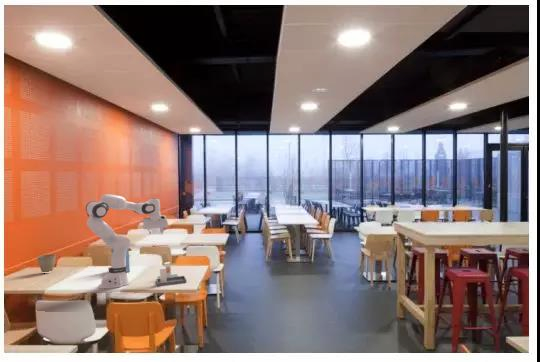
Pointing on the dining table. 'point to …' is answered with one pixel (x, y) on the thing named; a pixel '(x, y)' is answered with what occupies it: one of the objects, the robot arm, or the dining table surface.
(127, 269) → the gum box
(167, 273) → the labelled box
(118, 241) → the robot arm
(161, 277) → the plain box
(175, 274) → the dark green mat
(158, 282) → the charcoal tray
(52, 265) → the plant pot
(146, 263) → the dining table surface
